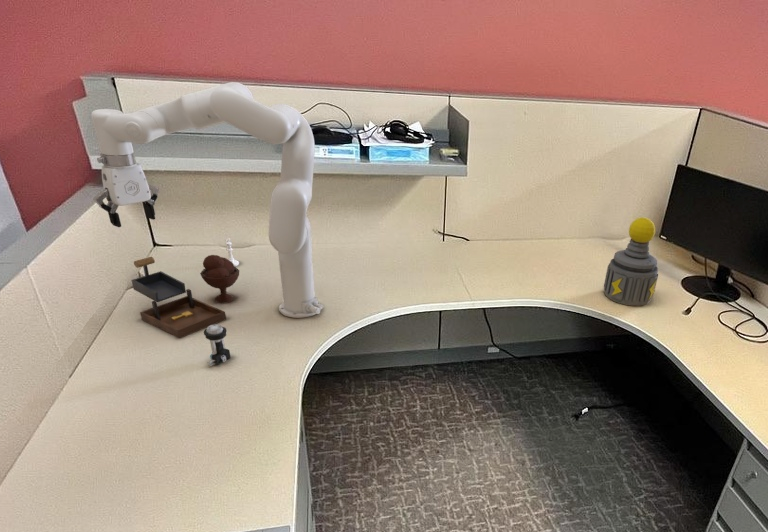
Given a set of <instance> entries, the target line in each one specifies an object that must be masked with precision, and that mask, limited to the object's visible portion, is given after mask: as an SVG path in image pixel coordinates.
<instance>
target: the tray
mask: <svg viewBox="0 0 768 532" xmlns="http://www.w3.org/2000/svg"><path fill="white" fill-rule="evenodd" d="M185 290H186V296H184V297H180V298H177V299H174V300H171V301H168V302H165V303H163V304H160V305H158V302H156V301H154V300H151V305H152V308H148V309H146V310H143V311H140V312H139V315H140V318H141V321H143V322H145V323H147V324H150V325H151V326H154V327H156V328H158V329H160V330H162V331H164V332H166V333H168V334H170V335H172V336H174V337H177V338H178V339H182V338H184V337H187V336H188V335H191V334H193V333H196V332H198V331H201V330H203V329H207V327H208V326H210V325H214V324H218V323H220V322H223V321H226V320H227V315H226V311H224V310H222V309H219V308H217V307H215V306H213V305H211V304H208V303H206V302H203V301H201V300H199V299H197V298H194V297H193V293H192V290H191V289H190V288H186V289H185ZM187 311H189V312H191V313H193V314H192V315H190V316H187V317H185V316H183V317H181V318H178V319H175V320H172V317H174V316H176V317H177V316H180V315H181V313H184V312H187Z"/></svg>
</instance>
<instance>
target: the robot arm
mask: <svg viewBox="0 0 768 532" xmlns="http://www.w3.org/2000/svg"><path fill="white" fill-rule="evenodd" d="M90 118H91V121H92V125H93V129H94V133H95V137H96V141H97V144H98V145H97V146H98V149H99V157H97V158H96V161H97V163H98V164H102V165H101V180H102V187H103V190H102V191H100V192H99V193H97V194H96V195H95V196H94V197H93V201H94V202H95V203H96V204H97V206H98V207H99V208H101V209H102V210H104V211H106V212H107V214H108V217H109V222H110V224H111V225H112V226H114V227H116V228H121V227H122V223H121V219H120V215H119V213H118V212H117V210H118V208H119V207H123V206H129V205H134V204H139V203H143V208H144V212H145V217H146V218H147V219H150V220H154V221H155V220H156V211H155V207H154V206H155V205H156V203H155V202H156V200H157V199H158V195H159V191H160V188H159V187H157V186H154V185H152V184H149V183H148V180H147V178H146V174H145V172H144V169H143V168H142V165H141V164H140V163H139V162H137V159H136V156H135V152H134V147H133V144H135V145H136V144H137V145H146V144H149V143H150V142H154V140H157V139H159V138H161V137H164V136H167V135H170V134H173V133H177V132H180V131H185V130H190V129H195V130H203V129H207V128H210V127H213V126H214V127H215V126H217V125H221V124H224V123H226V124H228V125H230V126H231V127H234V128H236V129H238V130H240V131H242V132H244V133H246V134H248V135H250V136H252V137H254V138H256V139H258V140H261V141H262V142H265V143H268V144H271V145H282V152H281V166H280V174H279V175H280V176H279V181H278V182H277V184H276V185H275V187H274V188H273V190H272V192H271V197H270V203H269V204H270V205H269V219H268V240H269V243H270V245H271V246H272V248H273V249H274V250H275V251H277V253H278V264H279V273H280V281H281V290H282V291H281V293H282V300H283V302H281V303H280V304H279V306H278V310H279V313H280V314H281V315H282V316H285V317H288V318H293V319H303V318H304V319H305V318H309V317H312V316H315V315H319V314H320V313H321V310H323V308H324V305H323V304H321V303H320V301H318V297H316V294H315V293H316V291H315V280H314V268H313V267H314V266H313V251H312V225H311V223H310V220H309V218H308V216H307V214H308V207H309V205H310V203H311V201H312V199H313V180H314V169H315V168H314V167H315V151H316V149H315V148H316V147H315V146H316V144H315V137H314V134H313V130H312V128H311V126H310V124H309V122H308V120H307V119H306V118H305V117H304V116H303V114H302V113H301V112H300V111H298V110H297V109H296V108H295V107H292V106H291V105H288V104H285V103H276V104H273V105H271V106H267V105H266V104H263V103H261V102H259V101H257V100H256V99H255V98H254V96H253V93H252V92H251V90H250V89H249V88H248V87H247V86H246V85H245V84H243V83H241V82H236V81H231V82H230V81H229V82H227V83H222V84H219V85H215V86H212V87H209V88H205V89H202V90H198V91H194V92H191V93H187V94H184V95H181V96H180V97H178V98H176V99H173V100H170V101H165V102H163V103H158V104H155V105H152V106H148V107H144V108H141V109H138V110H135V111H131V112H128V113H124V112H123V111H121V110H119V109H114V108H113V109H112V108H100V109H99V108H98V109H94V110H93V111H92V112H91V115H90ZM105 199H106V201H107V203H105V202H104V200H105Z"/></svg>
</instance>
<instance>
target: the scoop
mask: <svg viewBox="0 0 768 532" xmlns="http://www.w3.org/2000/svg"><path fill="white" fill-rule="evenodd" d="M155 262H156V261H155V259H154V257H153V256H147V257H144V258H141V259H137V260H134V261H133V265H134V267H135V268H137V269H139V268H143V273H144V276H140V277H136V278H133V279H131V284H132V288H133V291H135V292H137V293H140V294H141V295H142V296H144V297H146V298H148V299H150V300H151V301H156V302H157V303H159V302H162V301H166V300H169V299H172V298H174V297H177V296H181V295H184V294H187V292H186V290H187V289H186V284H185V282H183V281H181V280H179V279H178V278H175V277H173V276H171V275H169V274H167V273H165V272H163V271H161V270H160V271H157V272H154V273H151V274H150V273H149V268H148V266H149V265H153V264H155Z"/></svg>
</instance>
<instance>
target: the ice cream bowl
mask: <svg viewBox="0 0 768 532" xmlns="http://www.w3.org/2000/svg"><path fill="white" fill-rule="evenodd" d="M228 259H229V258H227V257H223V256H220V255H218V254H210V255H207V256H205V257H204V259H203V261H202V266H203V269H202V270H201V272H199V274H200V276H201V278H202V279H203V281H204V282H205V283H206V284H207V285H209V287H212V288H214V289H218V290H219V292H220V294H218V295H217V296H216V297H214V298H215V299H214V301H215V302H216V303H221V304H226V303H227V304H228V303H231V302H233V301H234V299H235V296H233V295H232V294H230V293H228V292H227V289H228V288H230V287H233V285H234V284H235V283H236V282H237V280H238V279H239V276H240V269H238V267H237V266H234V264H233V263H232V262H231V261H229V260H228Z"/></svg>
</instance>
